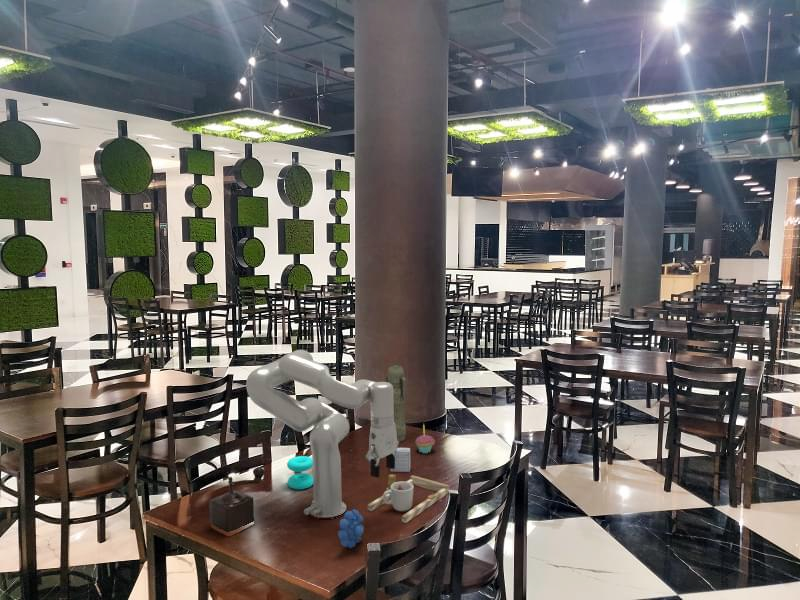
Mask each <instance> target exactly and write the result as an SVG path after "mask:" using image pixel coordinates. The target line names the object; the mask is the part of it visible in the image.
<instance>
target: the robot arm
mask: <svg viewBox="0 0 800 600" xmlns="http://www.w3.org/2000/svg"><path fill="white" fill-rule="evenodd" d="M290 380H292V381H295V382H296V383H300V384H302V385H304V386H308V387H310V388H312V389H314V390H317V392H318V393H319V394H320V395H321V396H322V397H324V398H325V399H326V400H327V401H329V402H330V403H333V404H335V405H338V406H341V407H343V408H346V409H351V410H355V409H359V408H361V407H362V406H363V405H364V404H366V403H369V402H370V403H369V404H370V429H369V437H368V438H369V439H368V451H367V453H366V455H365V459H366V460H367V462H368V463H369V465H370V476H371V477H374V478H377V479H379V478H380V473H381V472H380V465H379V463H380V459H384V458H385V457H386V458H385V463H386V468H387V469H390V468H391V469H395V456H396V451H397V448H398V446H399V443H400V442H399V441H397V432H396V426H395V422H394V409H393V386H392V384H390V383H388V382H386V381H372V380H368V379H365V378H363V379H359V380H357V381H355V382H353V383H351V384H347V383H344V382H343V381H339V380H338V379H335V378H334V377H333V376H332V375H331V373H330V369H329V367H328V365H325V364H323V363H320V362H318V361H315V360H314V358H313V356H312V354H311V353H310V352H308V351H307V350H306V349H297V350H294V351H291V352H289V353H286V354H285V355H283V356H282V357H281V358H279V359H277V360H274V361H272V362H270V363H267V364H265V365H262V366H259V367H257V368H256V369H254V370H252V371H251V372H250V373H249V375H248V377H247V378H246V383H245V387H246V391H247V394H248V397H249V399H250V400H251V401H252V402H253V404H255V405H257V407H259V408H261V409H263V410H264V411H266V412H268V413H269V414H271V415H272V416H274V417H275V418H277V419H278V420H279V421H281V422H282V423H284V424H285V425H287V426H288V427H290V428H292V429H293V430H294V431H296V432H299V433H300V432H305V431H307V430H309V429H310V428H312V429H311V430H310V433H309V445H310V449H311V450H310V451H311V458H312V460H313V467H312V476H313V485H312V486H313V500H312V501H311V505H310V507H307V508H304V510H303V514H304V515H306V516H308V515H311V514H313V515H315V516H318V517H334V516H338V515H341V514H343V513H344V512H345V511H346V512H347V504H346V503H344V501H342V495H343V493H342V463H341V462H342V460H341V453H340V449H339V443H340V442H341V441H342V440H343V439H344V438H346V437H347V435H348V434H349V432H350V422H349V421H348V419H347V418H346V416H345V415H343V414H342V413H341V412H339V411H338V410H336V409H335V408H333V407H332V406H330V405H329V404H327V403H325V401H322V400H320V399H319V398H316V397H307V398H303V399H302V400H297V399H295V398H294V397H293V396H291V395H289V394H287V393H286V392H283V391H280V390H279V389H278V390H277V389H276V387H278V386H280V385H282V384H284V383H286V382H288V381H290ZM375 458H376V459H375ZM346 512H345V513H346ZM310 513H311V514H310ZM345 513H344V514H345ZM344 514H343V515H344ZM341 516H342V515H341Z"/></svg>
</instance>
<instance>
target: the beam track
mask: <svg viewBox="0 0 800 600" xmlns="http://www.w3.org/2000/svg"><path fill="white" fill-rule="evenodd" d="M387 481H388V482H387V483H388V484H387V485H388V486H387V487H386V489H385V491H387V490H390V489H391V485H392V484H393V483H395V482H397V475H396V474H392V473H391V474H389V475H388V476H387ZM405 482H409V483H411V484H413V486H414V487H416V486H417V487H419V488H422V489H426V490H429V491H433V492H436V493H434V494H430V495H428V496H427V499H425V500H423V501H422V502H421V503H419V504H418V505H416V506H415V507H413V508H411V509H409V510H408V511H406V513H405V514H403V515H402V516H401V522H402V523H405V524H407V523H408V522H410V521H411V520H413V519H414V518H415V517H417V516H418V515H420V514H421V513H422V512H424V511H426V510H427V509H428V508H429V507H431V506H432V505H433V504H435V503H437V502H438V501H440V500H441V499H442V498H444V497H445V496H446V495H448V494H449V493H448V491H449V490H450V486H449V484H447V483H443V482H439V481H435V480H431V479H428V478H423V477H421V476H417V475H410V478H409V479H408V480H406V481H405ZM449 492H450V491H449ZM390 499H391V495H390V494H387V495H386V501H389V500H390ZM385 504H386V503H385V502H384V500H383V495H381V496H380V497H378V498H376V499H375V500H373V501H371V502H369V503H368V504H367V511H368V510H369V511H368V512H373V511H374V510H376V509H377V508H379V507H381V506H382V505H385Z"/></svg>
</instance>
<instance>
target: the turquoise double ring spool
mask: <svg viewBox="0 0 800 600" xmlns="http://www.w3.org/2000/svg"><path fill="white" fill-rule="evenodd" d="M286 466H287V468H288V470H290V471H291V472H297V473H296V474H292V475H291V476H290V477H289V478H288V479H287V486H288V487H289V488H291V489H294V490H305V488H306V489H308V488H310V487H312V486H313V474H310V473H306V472H307V471H309V470H311V469H313V460H312V457H310V456H306V455H299V456H294V457H292V458H290V459H289V460H288V461H287V463H286Z"/></svg>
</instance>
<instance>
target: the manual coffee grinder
mask: <svg viewBox="0 0 800 600" xmlns="http://www.w3.org/2000/svg"><path fill="white" fill-rule="evenodd" d="M252 474H253V476H254V477H253V480H251V479H245V480H244V479H243V480H236V481H233V477H232V476H229V477H228V481H227V484H228V486H229V487H228V488H229V489H228V490H229V491H228V492H226V493H224V494H222V495H219V496H216V497H214V498H212V499H209V501H208V504H209V505H208V506H209V507H208V508H209V525H210V524H212V525H214V526H216V527H218V528H219V529H222V530H224V531H226V532H230V531H233V530H236V529H238V528H240V527H242V526H245V525H247V524H249V523H251V522H253V521H254V522H255V510H254V509H255V507H254V506H255V505H254V497H253V496H251V495H249V494H245V493H244V492H241V491H238V490H236V489H233V485H240V484H246V483H247V484H248V483H249V484H258V483H262V482H263V481H262V478H263V477H264V475H265V474H266V470H265V469H264V468H262V467H259V466H258V467H256V468H254V469H252Z"/></svg>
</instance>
